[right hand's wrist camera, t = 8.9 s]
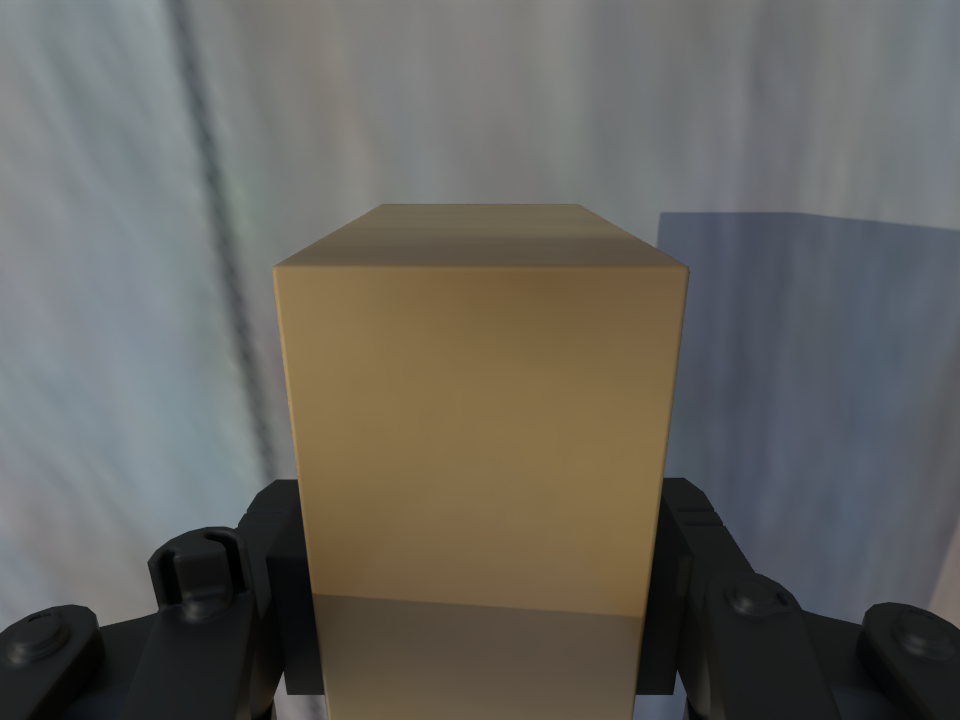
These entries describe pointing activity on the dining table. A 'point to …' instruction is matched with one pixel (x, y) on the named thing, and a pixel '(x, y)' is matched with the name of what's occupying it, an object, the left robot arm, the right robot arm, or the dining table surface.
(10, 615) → the dining table surface
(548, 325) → the post
